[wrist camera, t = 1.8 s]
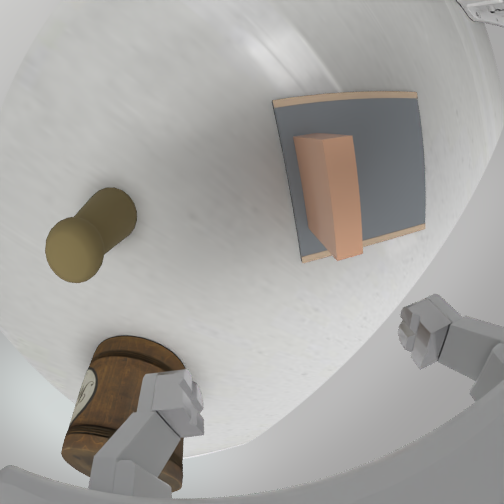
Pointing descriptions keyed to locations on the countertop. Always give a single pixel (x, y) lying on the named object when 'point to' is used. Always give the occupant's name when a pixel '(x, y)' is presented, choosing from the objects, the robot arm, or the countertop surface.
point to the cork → (90, 235)
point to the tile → (331, 191)
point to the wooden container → (117, 401)
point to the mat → (362, 159)
